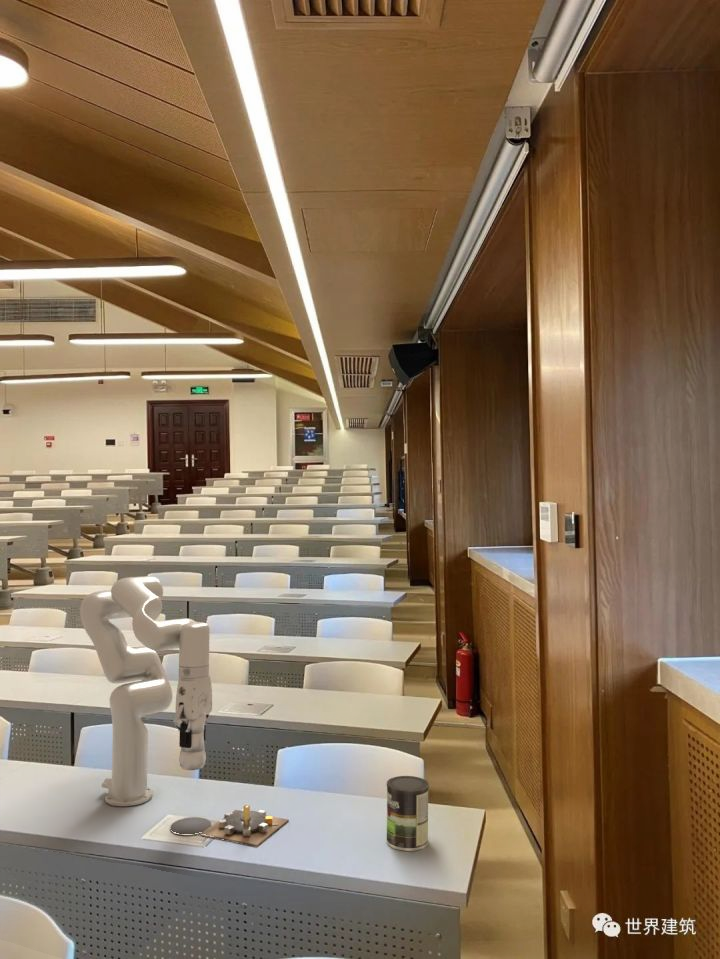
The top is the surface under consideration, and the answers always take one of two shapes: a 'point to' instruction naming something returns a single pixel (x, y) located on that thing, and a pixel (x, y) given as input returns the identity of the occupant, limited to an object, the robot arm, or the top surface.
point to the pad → (190, 825)
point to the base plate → (254, 837)
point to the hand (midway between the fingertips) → (192, 743)
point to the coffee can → (407, 813)
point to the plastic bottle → (194, 745)
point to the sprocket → (245, 821)
